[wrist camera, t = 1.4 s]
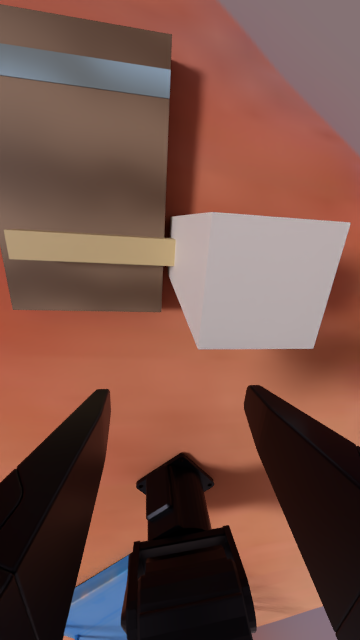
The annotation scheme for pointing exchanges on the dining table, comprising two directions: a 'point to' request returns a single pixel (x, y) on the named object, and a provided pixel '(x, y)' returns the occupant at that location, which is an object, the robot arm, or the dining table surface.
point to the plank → (82, 153)
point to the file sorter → (99, 605)
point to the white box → (222, 272)
